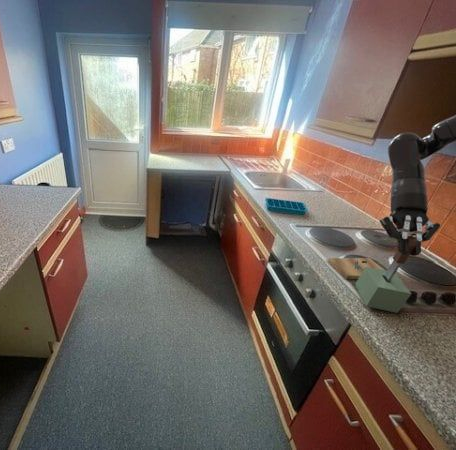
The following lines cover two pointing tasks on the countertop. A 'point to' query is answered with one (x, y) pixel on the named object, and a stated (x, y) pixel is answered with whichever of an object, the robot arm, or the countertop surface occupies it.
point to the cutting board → (352, 266)
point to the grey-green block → (381, 290)
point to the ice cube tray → (285, 206)
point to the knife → (400, 259)
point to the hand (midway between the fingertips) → (409, 254)
